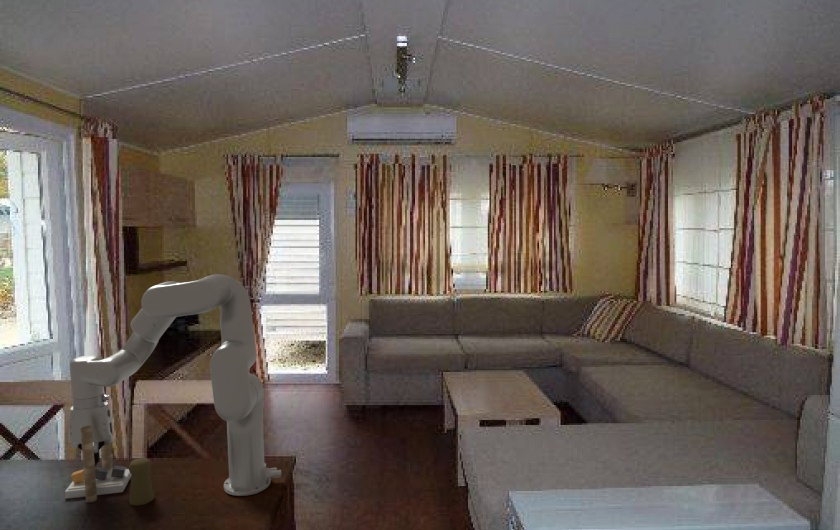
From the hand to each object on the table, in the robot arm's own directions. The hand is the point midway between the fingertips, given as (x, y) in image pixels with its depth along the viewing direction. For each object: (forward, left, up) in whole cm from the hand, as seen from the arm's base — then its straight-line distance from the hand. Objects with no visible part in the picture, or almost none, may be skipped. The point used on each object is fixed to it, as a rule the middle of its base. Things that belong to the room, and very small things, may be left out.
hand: (93, 464), depth 158 cm
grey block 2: (-6, 0, -4) cm, 7 cm away
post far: (-1, -8, -6) cm, 10 cm away
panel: (-1, 0, -6) cm, 7 cm away
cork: (-14, +10, -7) cm, 19 cm away
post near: (-1, +7, -6) cm, 10 cm away
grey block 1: (-1, 0, -4) cm, 5 cm away
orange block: (+3, 0, -4) cm, 5 cm away
